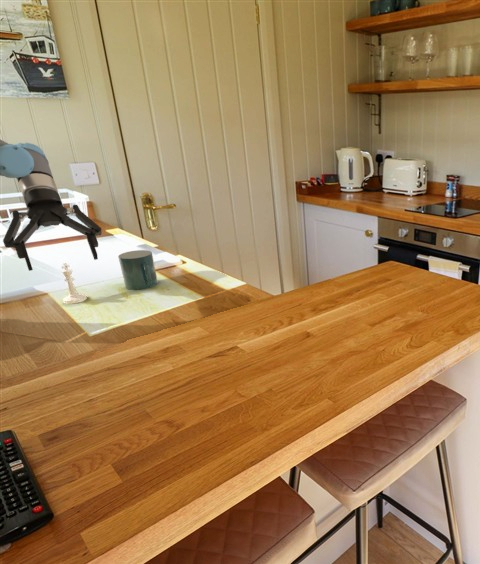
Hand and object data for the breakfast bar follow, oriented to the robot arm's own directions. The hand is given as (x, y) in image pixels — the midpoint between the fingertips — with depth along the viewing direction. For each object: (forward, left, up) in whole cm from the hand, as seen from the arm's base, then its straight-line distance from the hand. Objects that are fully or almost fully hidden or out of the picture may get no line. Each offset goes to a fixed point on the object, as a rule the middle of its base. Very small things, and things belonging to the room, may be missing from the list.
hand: (64, 262), depth 108 cm
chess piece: (+2, -3, -9) cm, 10 cm away
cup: (+15, +6, -9) cm, 19 cm away
